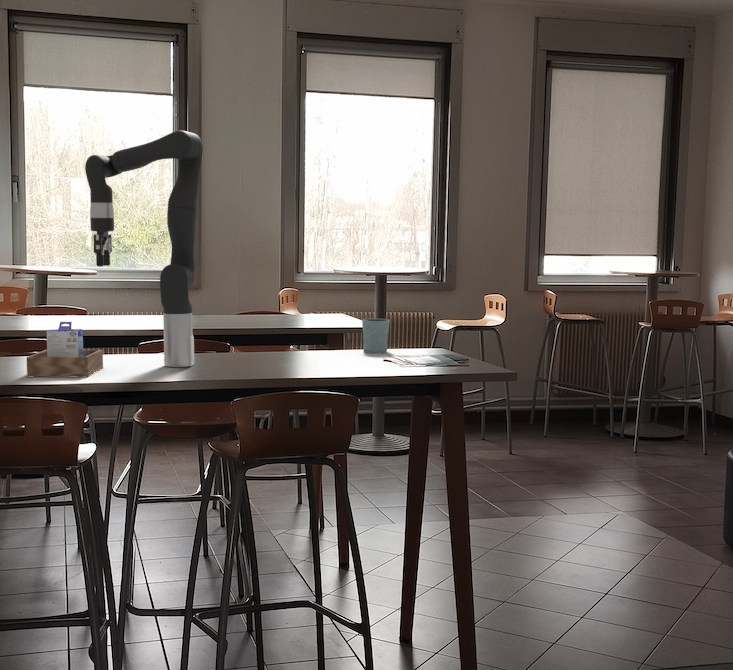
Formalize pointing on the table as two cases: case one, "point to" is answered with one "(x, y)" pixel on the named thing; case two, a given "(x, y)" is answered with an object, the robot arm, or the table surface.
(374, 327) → the grey tapered piece
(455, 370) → the table surface
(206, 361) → the table surface
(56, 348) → the ink cartridge box
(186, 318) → the robot arm
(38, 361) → the walled box
